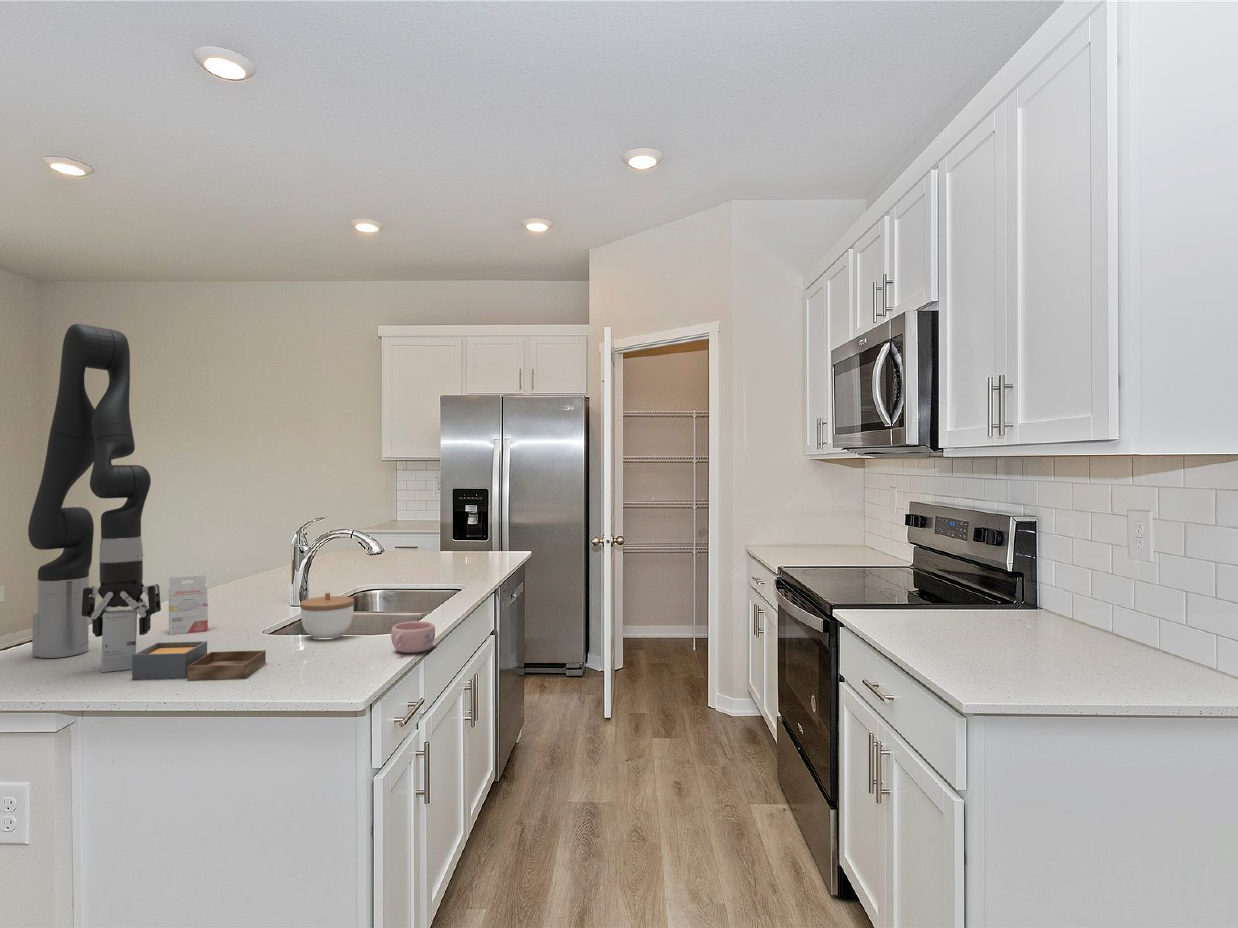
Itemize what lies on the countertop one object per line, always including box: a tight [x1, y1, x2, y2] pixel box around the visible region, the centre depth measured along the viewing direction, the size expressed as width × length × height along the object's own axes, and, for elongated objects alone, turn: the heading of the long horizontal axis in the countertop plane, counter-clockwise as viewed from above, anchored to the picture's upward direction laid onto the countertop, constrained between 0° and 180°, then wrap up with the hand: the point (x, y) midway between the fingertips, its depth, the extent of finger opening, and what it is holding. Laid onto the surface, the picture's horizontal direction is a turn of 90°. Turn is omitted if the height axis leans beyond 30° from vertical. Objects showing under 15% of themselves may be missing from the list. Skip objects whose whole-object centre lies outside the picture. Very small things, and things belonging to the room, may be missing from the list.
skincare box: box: [100, 608, 138, 673], centre depth 150 cm, size 6×4×12 cm
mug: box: [390, 620, 436, 654], centre depth 166 cm, size 12×10×6 cm
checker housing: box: [131, 640, 208, 681], centre depth 148 cm, size 10×10×5 cm
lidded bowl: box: [299, 592, 355, 641], centre depth 179 cm, size 13×13×11 cm
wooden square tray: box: [186, 649, 267, 681], centre depth 149 cm, size 11×11×3 cm
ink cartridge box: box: [168, 574, 209, 635], centre depth 184 cm, size 9×5×15 cm, turn 117°
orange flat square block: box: [149, 647, 194, 654], centre depth 148 cm, size 8×8×2 cm
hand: (121, 635), depth 150 cm, fingers open, 8 cm apart
